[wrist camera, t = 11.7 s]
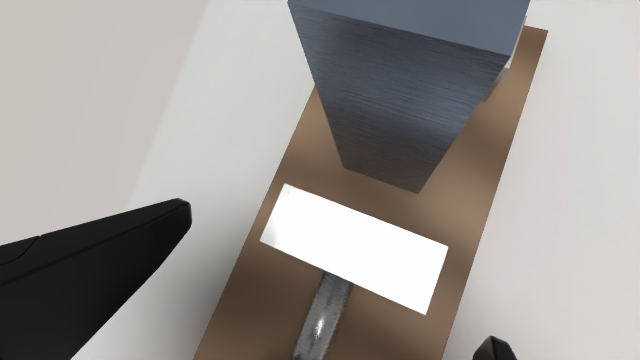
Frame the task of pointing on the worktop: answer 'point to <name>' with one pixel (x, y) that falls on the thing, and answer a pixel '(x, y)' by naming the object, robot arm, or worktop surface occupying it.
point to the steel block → (403, 75)
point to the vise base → (385, 205)
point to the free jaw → (349, 261)
